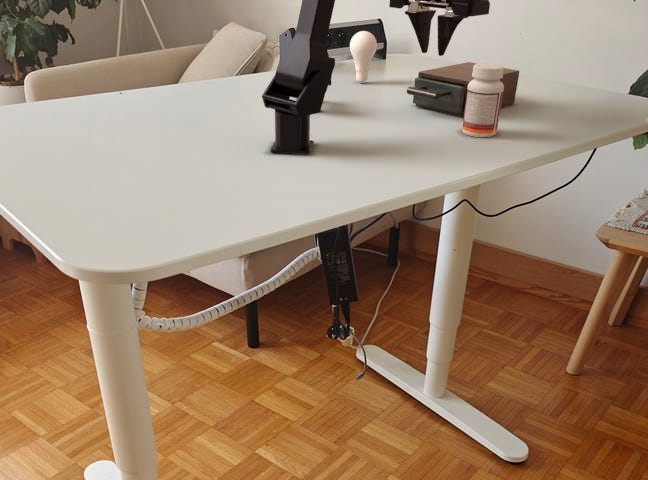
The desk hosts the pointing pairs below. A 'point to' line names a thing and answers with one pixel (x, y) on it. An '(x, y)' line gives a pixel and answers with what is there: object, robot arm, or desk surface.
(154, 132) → the desk surface
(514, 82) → the cabinet
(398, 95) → the desk surface
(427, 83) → the drawer
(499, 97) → the pill bottle
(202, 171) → the desk surface
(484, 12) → the robot arm
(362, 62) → the lightbulb
